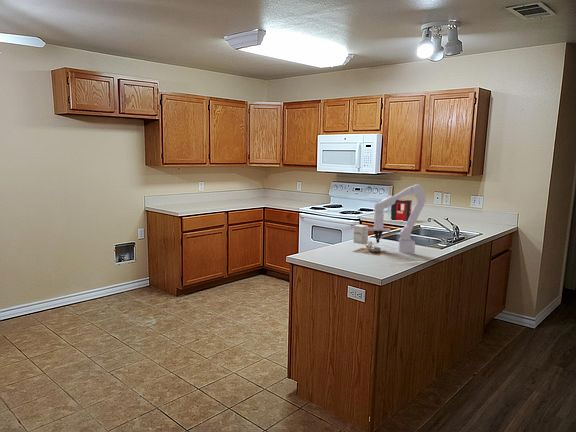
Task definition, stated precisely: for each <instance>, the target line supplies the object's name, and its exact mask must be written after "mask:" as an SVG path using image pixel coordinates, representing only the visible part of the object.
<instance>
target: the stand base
mask: <svg viewBox="0 0 576 432" xmlns="http://www.w3.org/2000/svg"><path fill="white" fill-rule="evenodd" d="M361 249H364V250H361ZM358 250H361V251H358ZM387 252H388V250H382V249H381V250H380V253H371V252H369V250H368V248H367V247H360V248H358V249H357V248H356V249H355V250H353V251H352V253H357V254H364V255H371V256H379V257H380V256H381V255H383V254H386V253H387ZM388 253H389V252H388Z"/></svg>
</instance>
